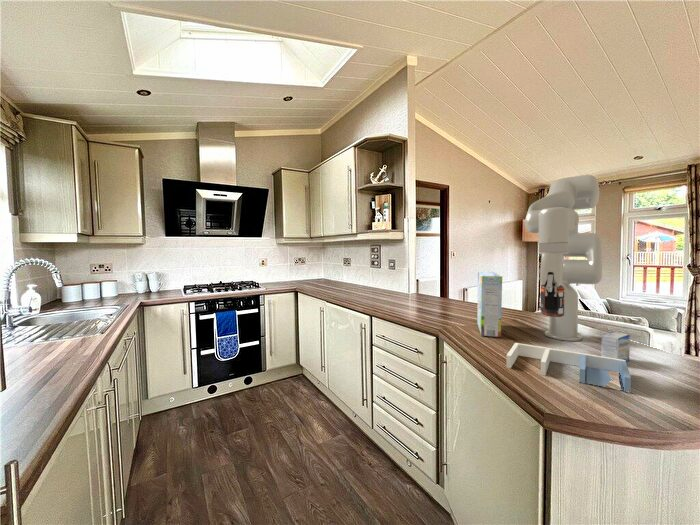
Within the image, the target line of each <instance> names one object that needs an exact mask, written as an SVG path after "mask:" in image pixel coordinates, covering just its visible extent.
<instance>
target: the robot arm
mask: <svg viewBox="0 0 700 525" xmlns="http://www.w3.org/2000/svg"><path fill="white" fill-rule="evenodd" d="M548 190H549V191H548V193H547V194H546V195H545V196H544V197H542V198H539V199H538V200H536V201H534V202H532V203H531V204H530V206H529V207H528V210H527V212H526V216H525V219H524V225H525V228H526V230H527V231H528V232H529V233H530V234H531V233H532V234H538V254H539V255H541V258H540V259H541V260H540V261H541V262H540V278H539V279H540V280H539V282H540V283H539V284H540V286H541V287H542V286H544V285H545V284H546V291H545V309H548V310H558V297H557V287H559V286H560V285H561V286H563V287H564V316H562V317H549V316H548V317H549V318H548V319H549V320H548V321H549V322H548V323H549V327H548V329H547V330H545V331H544V335H545V336H546V337H548V338H551V339H553V340H554V339H555V340H559V341H565V342H566V341H567V342H568V341H569V342H576V341H577V342H579V341H581V340H583V334H580V333H579V329H578V328H579V327H578V326H579V318H578V317H579V294H578V292H577V291H576V289H575V288H574V287H573V286H572V284H574V285H575V284H576V285H577V284H579V285H597V284H599V283H601V280H602V279H603V278H602V276H603V242H602V238H601V236H600V235H599V234H598V233H595V232H579V220H580V218H579V213H578V212H577V211H576V210H589V209H593V208H595V207H597V205H598V204H599V201H600V185H599V181H598V179H597V178H596V176H594V175H592V174H585V175H577V176H576V175H575V176H569V177H563V178H558V179H556V180H554V182H552V183H551V185H550V187H549V189H548ZM565 257H566V258H567V257H569V258H582V257H583V258H586V259H564V258H565ZM553 278H554V279H553ZM553 285H555V286H553ZM554 289H555V290H554Z"/></svg>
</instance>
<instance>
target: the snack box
mask: <svg viewBox="0 0 700 525" xmlns="http://www.w3.org/2000/svg"><path fill="white" fill-rule="evenodd" d="M502 294H503V276H502V275H500V273H499V274H498V273H497V272H495V271H478V272H477V308H476V309H477V310H476V311H477V321H476V322H477V323H476V324H477V326H478V330H479V334H480V336H482V337H485V336H486V337H492V338H501V336H502V305H503V304H502V303H503V302H502V300H503V299H502V298H503V295H502Z"/></svg>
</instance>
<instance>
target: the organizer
mask: <svg viewBox="0 0 700 525" xmlns="http://www.w3.org/2000/svg"><path fill="white" fill-rule="evenodd" d="M518 357H524V358H531V359H536V360H540V375H541V376H546V375H547V372H548V370H549V366H550V362H552V363H557V364H563V365H569V366H574V365H575V366H574V367H579V383H580V382H581V383H580V384H583V383H585V384H587V383H588V384H587V385H589V384H593V385H592V386H594V385H598V386H597V387H599V386H603V387H605V386H606V385H607V382H608V383H609V381H611V380H612V379H611V378H610V377H609V375H608V373H607V372H609V371H613V372H620V374H619V376H620V375H621V376H620V380H621V379H622V380H621V384H622V383H623V385H622V388H623V387H624V389H623V391H629V392H632V390H631V388H632V386H631V385H632V378H631V372H630V370H629V368H628V364H627V361H626V360H622V359H616V358H609V357H603V356H602V355H597V354H596V355H595V354H589V353H584V352H578V351H577V352H576V351H570V350H564V349H557V348H551V347H545V346H539V345H533V344H527V343H526V344H525V343H520V342H515V343H514V344H513V345H512V347H511V348H510V350H509V351H508V352H507V354H506V359H505V360H506V361H505V363H506V368H507V369H512V367H513V365H514V364H515V362H516V360H517V358H518ZM607 375H608V376H607ZM613 380H614V379H613ZM613 380H612V381H613ZM603 387H602V388H603Z"/></svg>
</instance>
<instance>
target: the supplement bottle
mask: <svg viewBox="0 0 700 525" xmlns="http://www.w3.org/2000/svg"><path fill="white" fill-rule="evenodd" d="M553 279H554V278H553ZM553 286H555V285H553ZM554 290H555V289H554ZM545 291H546V284H545V285H544V286H541V288H540V314H541V315H542V316H544V317H562V316H564V287H563V286H561V285H560V286H559V287H557V297H558V310H548V309H545Z"/></svg>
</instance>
